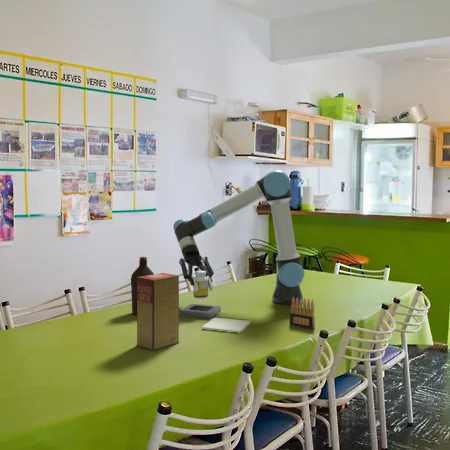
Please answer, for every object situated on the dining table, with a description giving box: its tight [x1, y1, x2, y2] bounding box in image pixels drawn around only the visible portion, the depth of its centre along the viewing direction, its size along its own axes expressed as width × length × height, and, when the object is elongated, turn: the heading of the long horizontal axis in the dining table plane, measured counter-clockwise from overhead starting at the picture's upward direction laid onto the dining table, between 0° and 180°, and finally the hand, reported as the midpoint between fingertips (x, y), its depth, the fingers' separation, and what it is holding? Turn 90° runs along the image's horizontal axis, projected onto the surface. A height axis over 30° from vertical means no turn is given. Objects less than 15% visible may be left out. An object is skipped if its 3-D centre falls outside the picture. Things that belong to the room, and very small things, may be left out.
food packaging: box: [136, 272, 180, 351], centre depth 202 cm, size 13×9×25 cm
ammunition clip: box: [289, 297, 316, 330], centre depth 230 cm, size 11×2×12 cm, turn 54°
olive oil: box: [130, 256, 155, 316], centre depth 247 cm, size 11×11×25 cm
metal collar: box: [179, 303, 222, 320], centre depth 249 cm, size 14×14×2 cm
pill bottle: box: [193, 270, 209, 300], centre depth 248 cm, size 6×6×12 cm
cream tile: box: [201, 317, 252, 334], centre depth 229 cm, size 16×16×1 cm
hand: (204, 289), depth 245 cm, fingers closed on pill bottle, 6 cm apart
